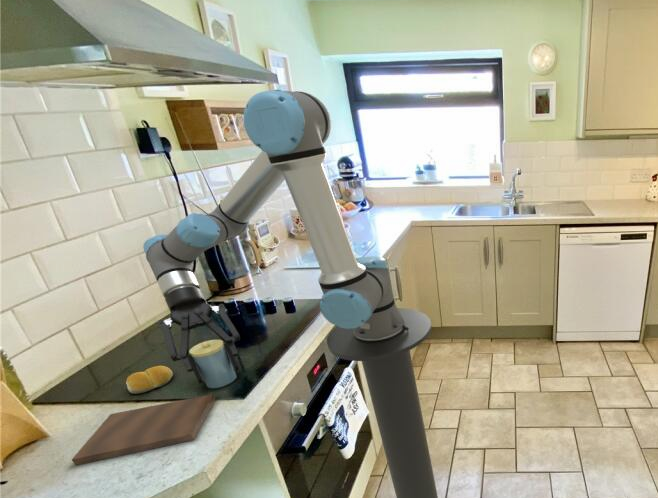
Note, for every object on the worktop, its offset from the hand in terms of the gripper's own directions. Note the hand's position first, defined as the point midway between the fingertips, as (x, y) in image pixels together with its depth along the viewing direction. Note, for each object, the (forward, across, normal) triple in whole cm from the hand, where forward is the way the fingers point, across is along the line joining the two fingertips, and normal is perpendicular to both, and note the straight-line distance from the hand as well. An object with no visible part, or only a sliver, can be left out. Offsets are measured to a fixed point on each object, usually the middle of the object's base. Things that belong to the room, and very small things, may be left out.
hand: (219, 374), depth 99 cm
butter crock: (0, 0, -5) cm, 5 cm away
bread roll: (-8, +14, -13) cm, 21 cm away
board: (+7, +14, +2) cm, 16 cm away
